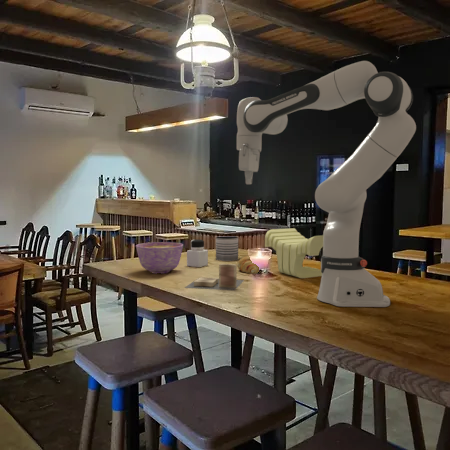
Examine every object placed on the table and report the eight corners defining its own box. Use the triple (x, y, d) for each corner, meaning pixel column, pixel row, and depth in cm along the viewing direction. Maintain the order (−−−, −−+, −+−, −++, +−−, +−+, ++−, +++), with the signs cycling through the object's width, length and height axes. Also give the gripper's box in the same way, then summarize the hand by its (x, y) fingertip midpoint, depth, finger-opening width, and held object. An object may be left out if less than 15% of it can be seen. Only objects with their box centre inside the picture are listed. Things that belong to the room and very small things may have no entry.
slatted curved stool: (264, 270, 202) (265, 229, 201) (293, 267, 210) (294, 228, 209) (309, 283, 176) (310, 236, 175) (340, 278, 184) (341, 234, 182)
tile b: (236, 286, 165) (236, 264, 165) (235, 287, 164) (235, 265, 163) (220, 285, 167) (220, 263, 166) (218, 286, 165) (218, 264, 164)
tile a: (218, 278, 172) (212, 282, 164) (218, 282, 172) (212, 287, 165) (200, 277, 174) (193, 281, 166) (200, 281, 174) (193, 286, 166)
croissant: (262, 283, 192) (271, 266, 192) (241, 273, 189) (250, 255, 189) (248, 273, 212) (257, 257, 212) (230, 263, 210) (238, 248, 210)
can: (212, 260, 230) (212, 236, 229) (219, 257, 241) (219, 233, 240) (234, 261, 227) (234, 237, 226) (241, 258, 238) (241, 234, 237)
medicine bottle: (208, 265, 216) (208, 239, 215) (199, 267, 210) (199, 241, 209) (195, 263, 219) (195, 238, 218) (186, 265, 213) (186, 239, 212)
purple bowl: (129, 270, 202) (129, 243, 201) (172, 266, 212) (172, 241, 211) (145, 278, 185) (145, 249, 184) (191, 273, 195) (191, 246, 194)
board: (244, 282, 177) (244, 280, 177) (234, 292, 160) (234, 290, 160) (198, 279, 181) (198, 277, 181) (184, 289, 164) (184, 287, 164)
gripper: (252, 142, 154) (252, 184, 155) (262, 147, 174) (261, 184, 175) (234, 142, 155) (234, 184, 156) (245, 147, 175) (245, 184, 176)
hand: (248, 184), depth 166 cm, fingers closed
